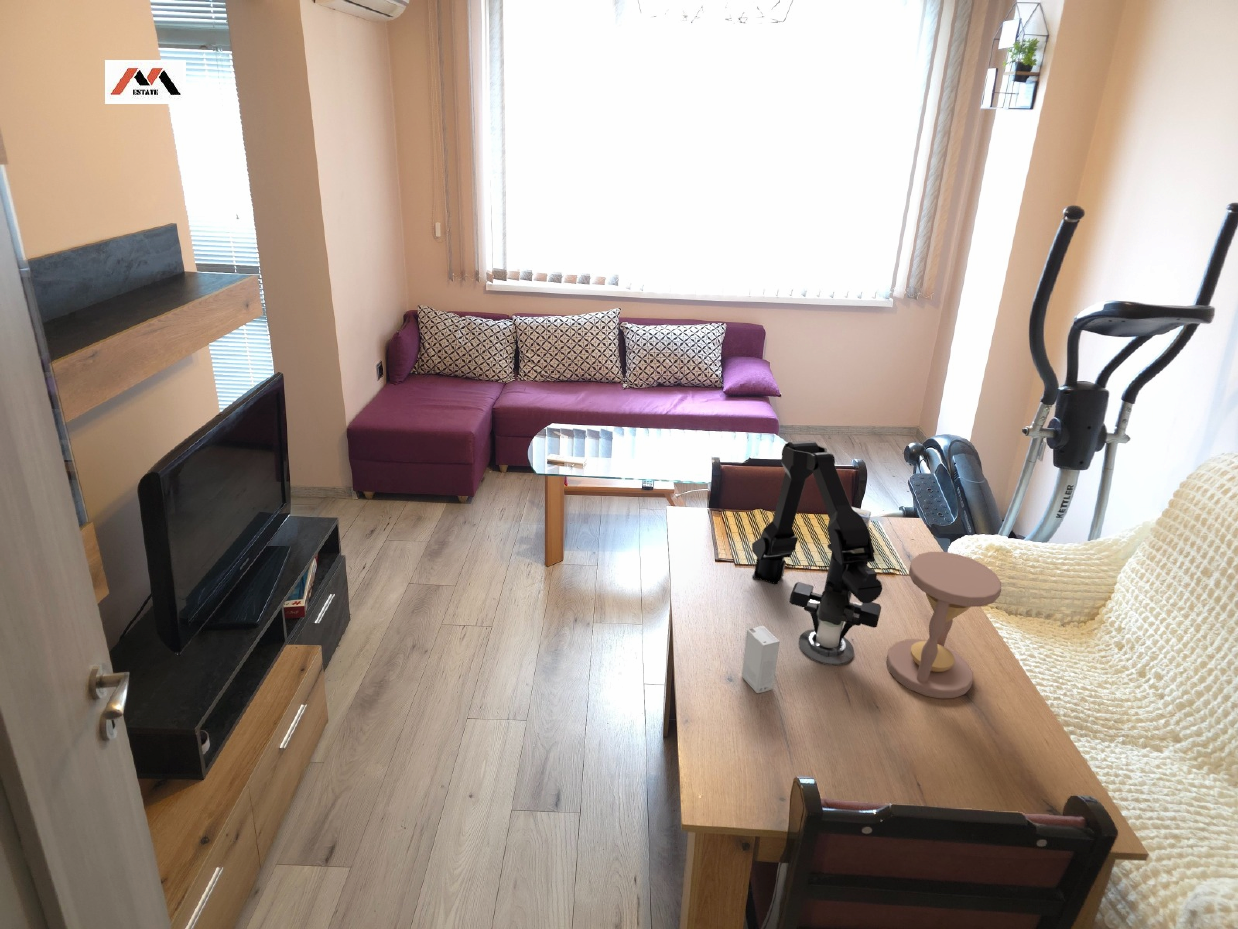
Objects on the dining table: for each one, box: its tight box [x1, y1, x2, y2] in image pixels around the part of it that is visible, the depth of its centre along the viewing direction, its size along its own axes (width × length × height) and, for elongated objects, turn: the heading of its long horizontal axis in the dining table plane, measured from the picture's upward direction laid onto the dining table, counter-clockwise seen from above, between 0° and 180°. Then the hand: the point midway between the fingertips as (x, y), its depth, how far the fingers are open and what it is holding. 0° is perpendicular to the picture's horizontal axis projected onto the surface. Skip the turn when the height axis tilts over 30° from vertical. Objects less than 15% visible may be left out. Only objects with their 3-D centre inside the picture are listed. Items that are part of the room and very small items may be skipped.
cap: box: [816, 620, 845, 648], centre depth 177 cm, size 5×5×6 cm
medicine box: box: [851, 506, 872, 529], centre depth 223 cm, size 8×4×9 cm, turn 65°
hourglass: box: [885, 551, 1002, 700], centre depth 168 cm, size 18×18×25 cm
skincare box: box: [741, 625, 780, 694], centre depth 164 cm, size 6×4×12 cm
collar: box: [798, 628, 855, 666], centre depth 178 cm, size 12×12×2 cm
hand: (828, 636), depth 177 cm, fingers closed on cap, 5 cm apart
